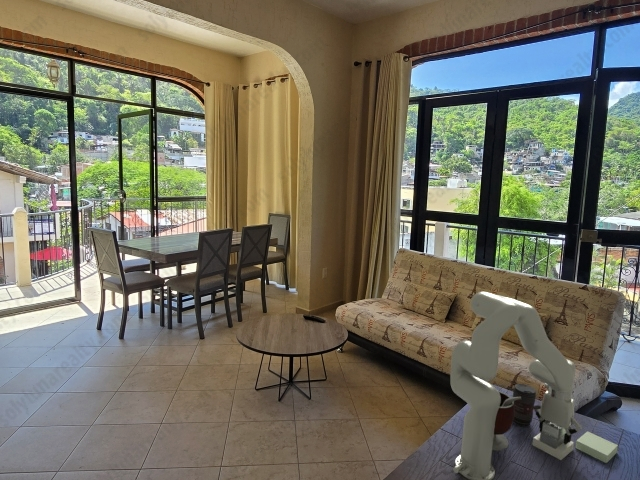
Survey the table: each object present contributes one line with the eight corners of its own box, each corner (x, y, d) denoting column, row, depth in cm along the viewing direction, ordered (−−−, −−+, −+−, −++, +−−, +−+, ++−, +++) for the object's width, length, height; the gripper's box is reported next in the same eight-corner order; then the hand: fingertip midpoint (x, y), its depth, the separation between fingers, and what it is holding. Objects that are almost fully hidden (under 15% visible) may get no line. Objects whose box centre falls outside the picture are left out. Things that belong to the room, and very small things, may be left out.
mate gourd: (468, 444, 152) (473, 394, 149) (473, 424, 164) (478, 378, 161) (514, 458, 145) (520, 406, 142) (516, 437, 157) (521, 388, 154)
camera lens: (535, 428, 163) (540, 393, 161) (515, 427, 163) (519, 392, 161) (526, 417, 171) (530, 383, 169) (506, 416, 171) (510, 382, 169)
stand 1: (560, 460, 145) (562, 452, 144) (532, 445, 152) (533, 437, 152) (573, 449, 150) (574, 442, 150) (545, 435, 158) (546, 428, 158)
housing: (555, 449, 146) (557, 430, 145) (539, 441, 150) (541, 422, 149) (567, 439, 152) (570, 421, 151) (552, 431, 156) (554, 414, 155)
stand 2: (606, 463, 144) (607, 455, 143) (575, 447, 152) (576, 440, 151) (616, 452, 150) (617, 445, 149) (586, 438, 158) (587, 431, 157)
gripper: (530, 385, 153) (525, 428, 155) (582, 406, 139) (575, 453, 142) (540, 380, 157) (535, 421, 160) (590, 400, 143) (584, 445, 146)
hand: (554, 436), depth 151 cm, fingers open, 7 cm apart
